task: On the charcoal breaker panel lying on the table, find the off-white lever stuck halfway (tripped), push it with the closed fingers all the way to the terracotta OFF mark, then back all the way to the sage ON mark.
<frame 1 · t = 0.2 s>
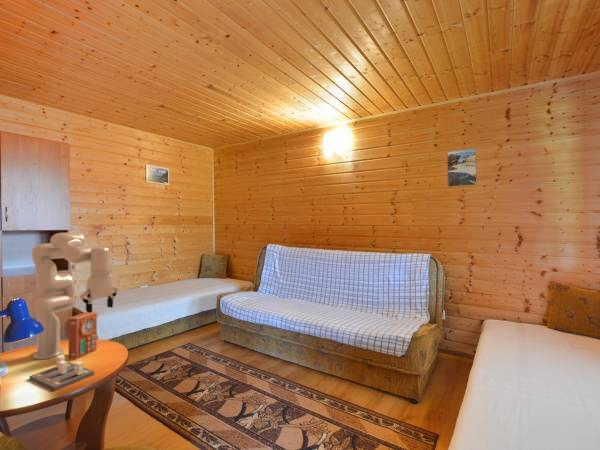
hand: (99, 309, 147), 30 cm above the table, tool pointing down, fingers open, 9 cm apart
control panel: (82, 354, 169), on the table
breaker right: (79, 368, 143), point 4 cm above the table, slide at 3.0 cm
breaker left: (60, 361, 150), point 4 cm above the table, slide at 3.0 cm
tripped breaker: (62, 367, 144), point 4 cm above the table, slide at 0.0 cm
breaker panel: (62, 376, 144), on the table
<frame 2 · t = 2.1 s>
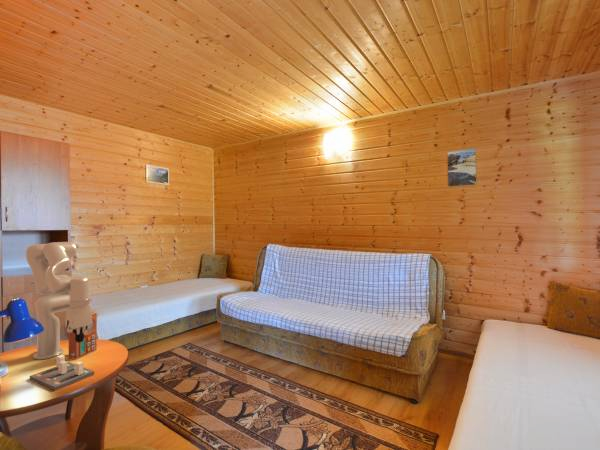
hand: (79, 341, 150), 14 cm above the table, tool pointing down, fingers closed
nothing on the table moved.
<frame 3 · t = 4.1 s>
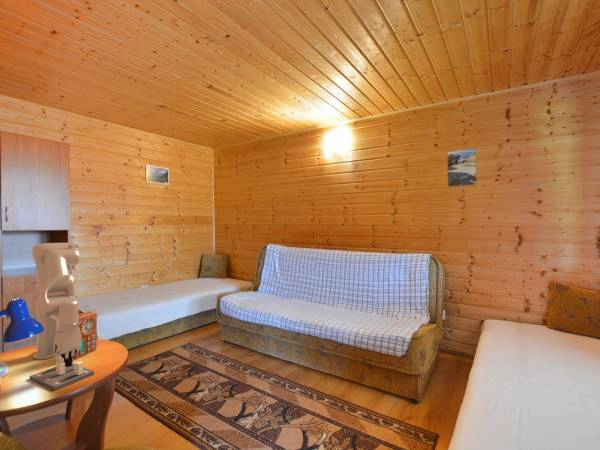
hand: (68, 365, 146), 4 cm above the table, tool pointing down, fingers closed
tripped breaker: (60, 368, 143), point 4 cm above the table, slide at -0.8 cm, touching gripper
everything else where it was.
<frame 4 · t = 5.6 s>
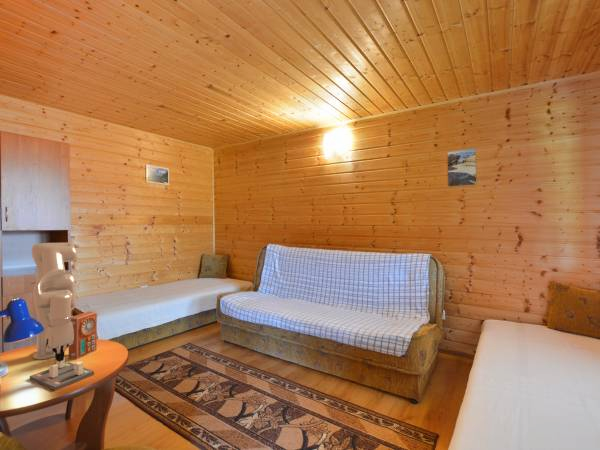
hand: (59, 360, 144), 8 cm above the table, tool pointing down, fingers closed
tripped breaker: (53, 370, 141), point 4 cm above the table, slide at -3.6 cm
everything else where it was.
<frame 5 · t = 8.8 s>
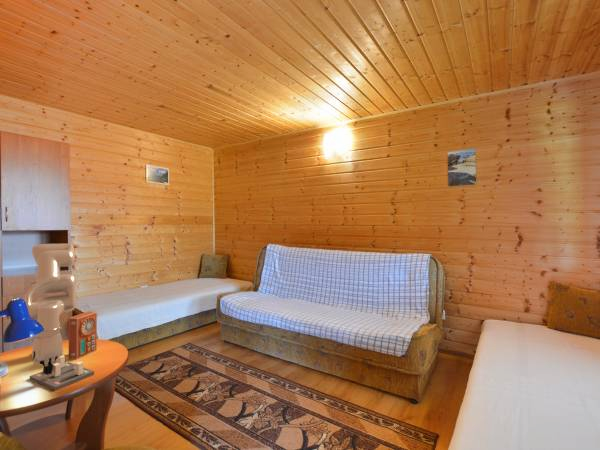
hand: (48, 373, 139), 4 cm above the table, tool pointing down, fingers closed
tripped breaker: (56, 369, 142), point 4 cm above the table, slide at -2.5 cm, touching gripper
everything else where it was.
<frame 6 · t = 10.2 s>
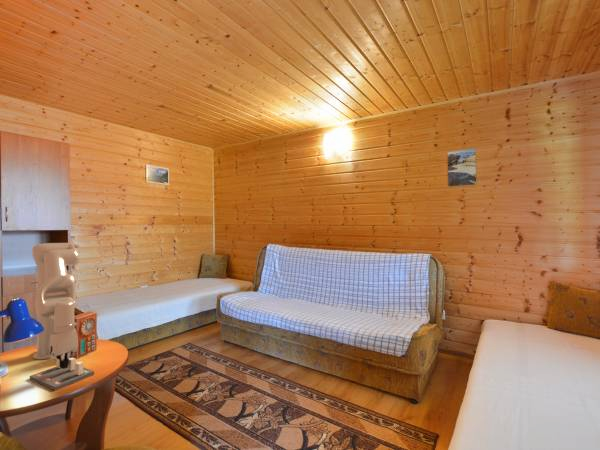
hand: (64, 367, 144), 4 cm above the table, tool pointing down, fingers closed
tripped breaker: (71, 364, 147), point 4 cm above the table, slide at 3.8 cm, touching gripper
everything else where it was.
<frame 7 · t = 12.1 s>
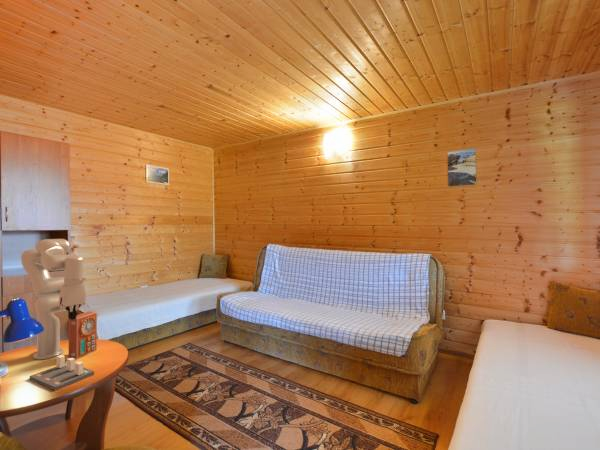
hand: (72, 318, 153), 24 cm above the table, tool pointing down, fingers closed
tripped breaker: (71, 364, 147), point 4 cm above the table, slide at 3.6 cm
everything else where it was.
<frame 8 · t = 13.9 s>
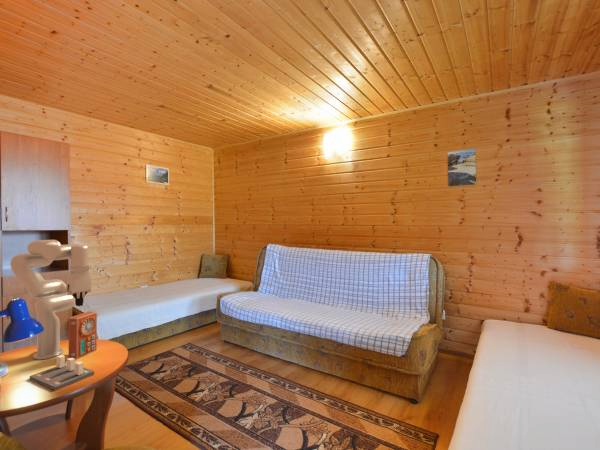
hand: (79, 305, 158), 29 cm above the table, tool pointing down, fingers closed
nothing on the table moved.
at the end: tripped breaker slide at 3.6 cm; breaker left slide at 3.0 cm; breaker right slide at 3.0 cm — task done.
